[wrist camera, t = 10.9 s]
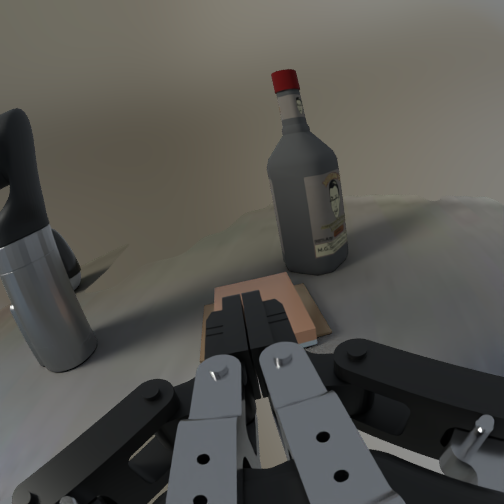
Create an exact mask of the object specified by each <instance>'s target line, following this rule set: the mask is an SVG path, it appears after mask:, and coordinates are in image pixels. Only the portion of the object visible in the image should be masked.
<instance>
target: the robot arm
mask: <svg viewBox="0 0 504 504" xmlns="http://www.w3.org/2000/svg"><path fill="white" fill-rule="evenodd" d="M8 185H10V194H9V197H8V200H7V202H6V204H5V206H4V207H3V209H2V211H1V212H0V277H1V280H2V282H3V285H4V287H5V290H6V292H7V294H8V297H9V299H10V301H11V303H12V305H11V306H10V311H11V313H12V315H13V317H14V319H15V321H16V323H17V325H18V327H19V329H20V331H21V333H22V335H23V336H24V338H25V340H26V342H27V344H28V345H29V347H30V349H31V351H32V352H33V354H34V356H35V357H36V359H37V361H38V362H39V364H40V365H41V366H45V367H46V368H47V369H48V370H50V371H53V372H61V371H66V370H69V369H72V368H74V367H76V366H78V365H79V364H81V363H82V362H83V361H85V360H86V359H87V358H88V357H89V356H90V355H91V354H92V353H93V351H94V350H95V348H96V345H97V340H96V337H95V335H94V333H93V331H92V329H91V327H90V325H89V323H88V321H87V319H86V317H85V315H84V312H83V310H82V308H81V306H80V304H79V301H78V299H77V297H76V295H75V292H74V290H73V288H72V285H71V283H70V280H69V278H68V275H67V273H66V270H65V268H64V265H63V262H62V260H61V257H60V254H59V251H58V248H57V246H56V243H55V240H54V237H53V234H52V231H51V227H50V225H49V220H48V217H47V213H46V209H45V204H44V199H43V195H42V190H41V186H40V181H39V176H38V171H37V163H36V156H35V147H34V140H33V134H32V129H31V125H30V122H29V119H28V117H27V115H26V114H25V112H24V111H22V110H21V109H18V108H16V109H12V110H9V111H7V112H5V113H3V114H1V115H0V189H2V188H4V187H6V186H8ZM241 295H242V300H241V296H240V294H236V295H231V296H226V297H222V310H219V311H214V312H211V313H210V315H209V316H208V318H207V319H206V331H205V336H206V337H205V356H204V361H203V362H202V363H201V364H200V365H199V366H198V368H197V371H196V376H195V378H193V379H191V380H190V381H188V382H185V383H183V384H180V385H178V386H175V387H173V386H172V385H171V383H170V382H168V381H166V380H163V379H153V380H149V381H146V382H144V383H142V384H141V385H140V386H138V387H137V388H136V389H135V390H134V391H132V392H131V393H130V394H129V395H128V396H127V397H125V398H124V399H123V400H122V401H121V402H120V403H118V404H117V405H116V406H115V407H114V408H113V409H111V410H110V411H109V412H108V413H107V414H105V415H104V416H103V417H102V418H101V419H100V420H98V421H97V422H96V423H95V424H94V425H92V426H91V427H90V428H89V429H88V430H86V431H85V432H84V433H83V434H82V435H80V436H79V437H78V438H77V439H76V440H74V441H73V442H72V443H71V444H69V445H68V446H67V447H66V448H65V449H63V450H62V451H61V452H60V453H58V454H57V455H56V456H55V457H54V458H52V459H51V460H50V461H49V462H47V463H46V464H45V465H44V466H42V467H41V468H40V469H39V470H37V471H36V472H35V473H33V474H32V475H31V476H30V477H28V478H27V479H26V480H25V481H23V482H22V483H21V484H19V485H18V486H17V487H16V489H15V490H14V493H13V496H12V504H147V503H148V502H149V501H150V500H151V499H152V498H154V496H155V495H156V494H158V493H159V492H160V491H161V490H162V489H163V488H164V487H165V486H166V484H167V483H168V482H169V483H168V490H167V491H166V492H164V493H163V494H162V495H161V496H159V497H158V498H157V499H156V500H155V501H154V502H153V504H504V377H501V376H497V375H492V374H488V373H484V372H480V371H476V370H472V369H468V368H464V367H460V366H456V365H453V364H449V363H445V362H441V361H438V360H434V359H431V358H427V357H423V356H420V355H416V354H413V353H410V352H406V351H403V350H399V349H396V348H393V347H389V346H386V345H383V344H379V343H376V342H373V341H370V340H366V339H350V340H347V341H345V342H343V343H341V344H339V345H338V346H337V347H336V349H335V351H334V354H315V353H310V352H308V351H306V350H304V348H303V347H302V346H300V345H299V344H298V342H297V339H296V337H295V334H294V331H293V329H292V326H291V324H290V321H289V320H288V316H287V314H286V311H285V309H284V306H283V304H282V303H280V302H279V301H278V300H276V299H270V300H266V301H262V298H261V295H260V291H259V290H254V291H250V292H245V293H241ZM242 301H243V304H242ZM243 307H244V308H243ZM257 376H258V378H257ZM258 380H259V383H258ZM259 384H260V388H261V391H262V395H263V398H265V397H268V398H269V402H270V406H271V410H272V414H273V417H274V420H275V423H276V427H277V430H278V432H279V436H280V439H281V442H282V445H283V447H284V451H285V454H286V457H287V460H288V461H286V462H284V463H282V464H280V465H277V466H275V467H273V468H268V469H262V468H261V464H260V455H259V454H260V453H259V438H258V422H257V415H256V403H255V400H256V399H260V398H261V394H260V388H259ZM357 429H358V430H360V431H362V432H365V433H367V434H369V435H372V436H374V437H377V438H379V439H382V440H384V441H387V442H389V443H392V444H394V445H397V446H400V447H402V448H405V449H408V450H411V451H413V452H417V453H419V454H422V455H425V456H428V457H431V458H434V459H437V460H439V464H440V468H441V470H442V472H443V473H444V475H443V474H440V473H437V472H434V471H432V470H429V469H426V468H423V467H421V466H418V465H416V464H413V463H410V462H408V461H406V460H404V459H401V458H399V457H396V456H394V455H391V454H389V453H385V452H382V451H377V450H371V449H368V448H367V446H366V444H365V443H364V441H363V439H362V437H361V436H360V434H359V432H358V430H357ZM152 435H155V437H154V438H153V439H152V440H151V441H150V442H149V443H148V444H147V445H146V446H145V447H144V448H143V449H142V450H141V451H140V452H139V453H138V454H136V456H134V457H133V458H132V459H131V460H130V461H129V458H130V457H131V455H133V454H134V453H135V452H136V451H137V450H138V449H139V448H140V447H141V446H142V445H143V444H144V443H145V442H146V441H147V440H148V439H149V438H150V437H152Z"/></svg>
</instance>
